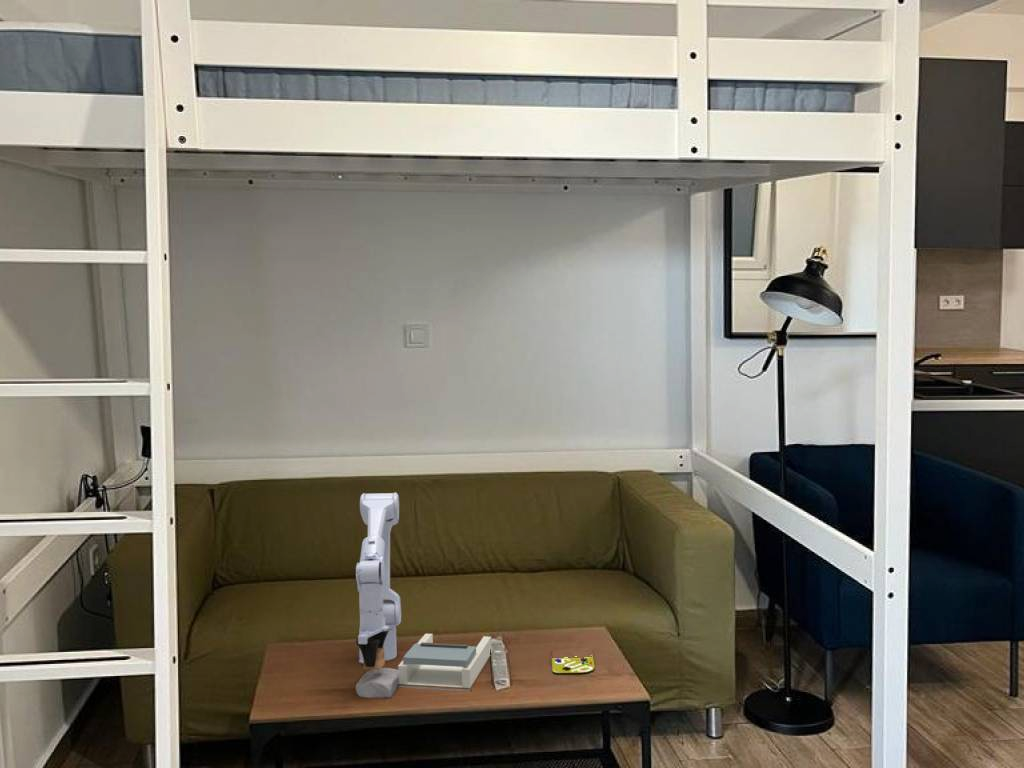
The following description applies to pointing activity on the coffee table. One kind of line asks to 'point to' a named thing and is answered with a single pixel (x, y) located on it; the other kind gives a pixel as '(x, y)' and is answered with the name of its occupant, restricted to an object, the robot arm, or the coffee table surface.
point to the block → (377, 660)
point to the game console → (572, 666)
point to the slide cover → (440, 654)
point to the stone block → (378, 683)
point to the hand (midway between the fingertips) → (373, 663)
